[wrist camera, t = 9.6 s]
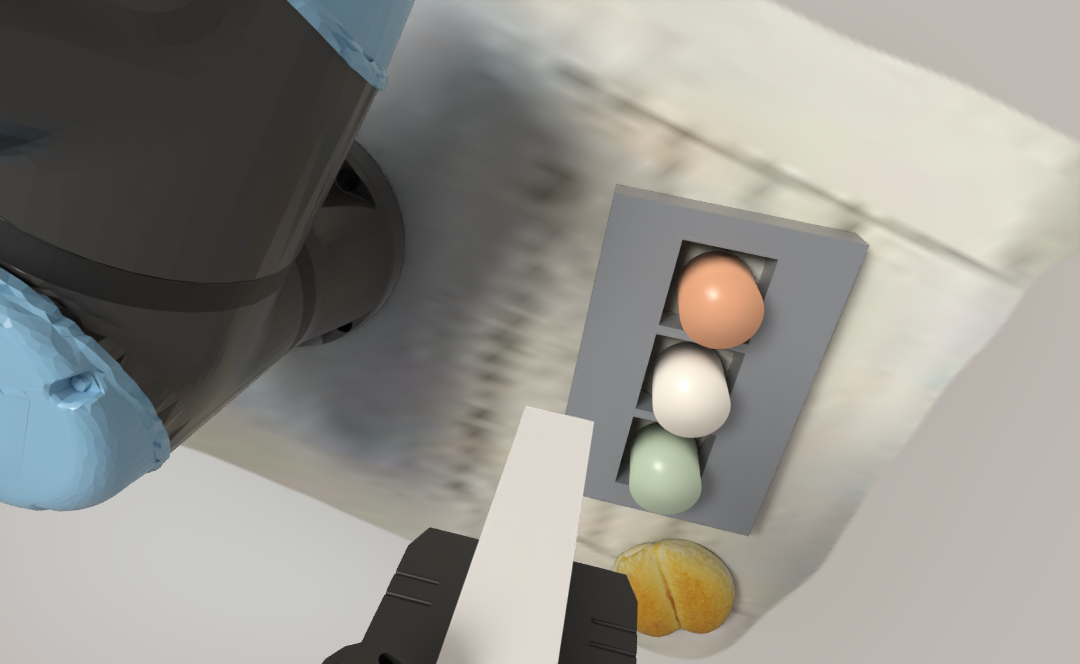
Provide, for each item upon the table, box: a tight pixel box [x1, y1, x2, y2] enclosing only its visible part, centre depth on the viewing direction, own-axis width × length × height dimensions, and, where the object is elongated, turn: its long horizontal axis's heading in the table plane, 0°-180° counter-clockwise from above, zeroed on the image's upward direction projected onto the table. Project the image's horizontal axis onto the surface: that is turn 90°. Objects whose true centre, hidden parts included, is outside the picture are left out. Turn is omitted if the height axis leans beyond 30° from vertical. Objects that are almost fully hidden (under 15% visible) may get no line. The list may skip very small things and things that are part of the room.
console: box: [565, 184, 869, 536], centre depth 40 cm, size 14×21×2 cm, turn 170°
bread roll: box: [612, 539, 735, 637], centre depth 47 cm, size 8×9×4 cm
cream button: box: [652, 342, 731, 438], centre depth 38 cm, size 4×4×4 cm
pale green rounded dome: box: [629, 422, 702, 515], centre depth 41 cm, size 4×4×4 cm
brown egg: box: [677, 251, 764, 349], centre depth 36 cm, size 4×4×4 cm
